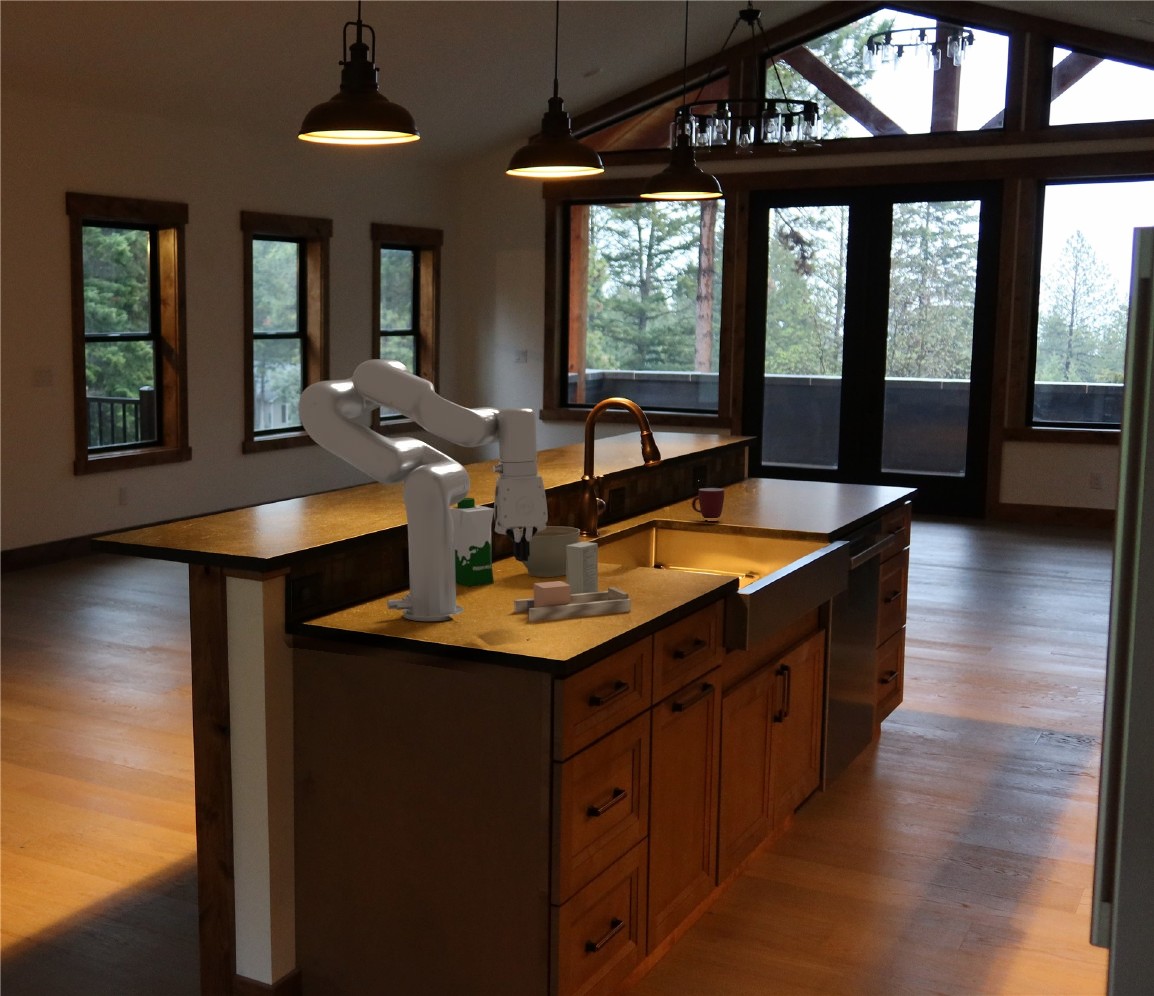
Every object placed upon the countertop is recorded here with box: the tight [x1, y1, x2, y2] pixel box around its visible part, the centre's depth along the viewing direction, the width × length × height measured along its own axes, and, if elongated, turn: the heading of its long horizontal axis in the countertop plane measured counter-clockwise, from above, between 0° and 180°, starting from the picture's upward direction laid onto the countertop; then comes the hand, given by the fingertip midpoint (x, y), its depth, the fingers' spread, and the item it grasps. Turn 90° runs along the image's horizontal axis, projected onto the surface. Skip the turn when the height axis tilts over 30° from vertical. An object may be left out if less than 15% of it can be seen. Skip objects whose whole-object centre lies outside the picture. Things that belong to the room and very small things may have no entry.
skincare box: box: [566, 541, 599, 594], centre depth 268 cm, size 6×4×12 cm
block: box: [533, 580, 571, 608], centre depth 249 cm, size 6×5×6 cm
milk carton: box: [450, 497, 495, 588], centre depth 285 cm, size 9×9×20 cm
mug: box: [691, 487, 725, 519], centre depth 382 cm, size 11×8×10 cm
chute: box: [513, 586, 632, 622], centre depth 250 cm, size 22×10×4 cm, turn 113°
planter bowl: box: [519, 525, 581, 578], centre depth 296 cm, size 16×16×11 cm
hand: (521, 560), depth 245 cm, fingers closed
